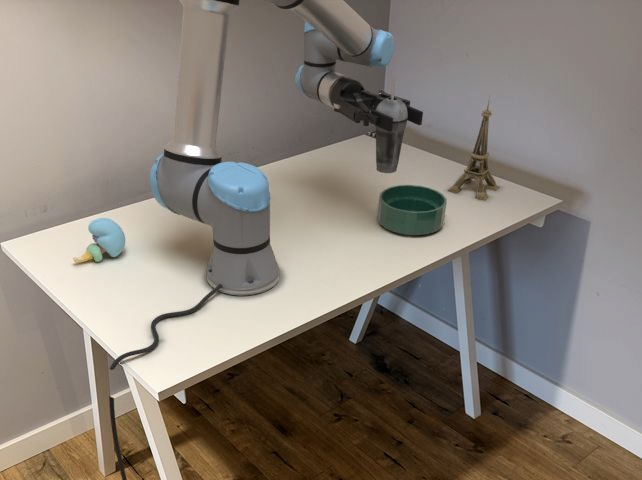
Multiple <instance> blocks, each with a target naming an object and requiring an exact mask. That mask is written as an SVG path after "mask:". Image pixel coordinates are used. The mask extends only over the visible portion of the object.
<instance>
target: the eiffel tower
mask: <svg viewBox="0 0 642 480" xmlns="http://www.w3.org/2000/svg"><path fill="white" fill-rule="evenodd" d="M490 98H491V95H489V99H488V100H487V101H488V102H487V105H486V109H484V110H482V113H481V114H480V116H482V120H481V122H480V123H481V124H480V128H479V131H478V133H477V134H478V135H477V137H476V142H475V145H474V148H473V150H472V152H470V154H469V156H470V159H469V161H468V164H467V165H466V167H465V169H463V173H462V175H461V176H460V177H459V178H457V180H456V181H455V183H453V185H452V186H451V187H450V188H448V189H447V192H449V193H454V194H458V193H460V192H461V191H462V186H463V185H464V184H467V185H469V184H470V183H472V182H473V180H475V181H476V182H477V193H476V195H475V197H474V199H477V200H481V201H486V200H487V199H489V198H490V195H488V192H487V190H491V191H495V192H496V191H497V190H498V189H500V186H499V185H498V184H497V182H496V180H495V178H494V176H493V175H492V173H491V172H490V169H491V168H490V167H489V164H488V157H490V152H489V151H488V141H489V140H488V138H489V123H490V117H491V116H492V115H493V114H492V112H493V111H492V110H489V105H490V100H491V99H490ZM477 162H479V165H477ZM484 181H485V183H486V186H485V184H484Z"/></svg>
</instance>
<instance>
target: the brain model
mask: <svg viewBox="0 0 642 480" xmlns="http://www.w3.org/2000/svg"><path fill="white" fill-rule="evenodd" d="M88 232H89V234H91V238H92V240H93V241H94V242H92V243H90V244H89V245H88V246H87V247H86V250H85V252H84V254H82V255H81V256H79V257H76V256H73V257H72V260H73V262H74V263H77V264H80V263H83V262H87V261H89V260H94V261H95V262H96V263H99V262H101V261H103V258H104V257H103V253H105V252H106V253H107V254H108V255H109V256H110V257H112V258H116V257H118V256H119V255H120V254H121V252H123V250H124V249H125V247H126V235H125V232H124V230H123V228H122V227H121V226H120V225H119V224H118V223H117V222H116V221H114V220H112V218H110V217H109V218H108V217H99V218H96V219H94V220H92V221H90V222H89V224H88Z"/></svg>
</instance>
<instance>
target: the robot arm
mask: <svg viewBox="0 0 642 480" xmlns="http://www.w3.org/2000/svg"><path fill="white" fill-rule="evenodd" d="M178 1H179V2H180V4H181V5H182V8H183V10H182V20H181V21H182V23H181V32H180V33H181V35H180V47H179V58H178V71H177V83H176V95H175V106H174V107H175V108H174V117H173V118H174V119H173V131H172V138H171V140H170V141H169V142H168V143H166V144H165V145H164V148H163V153H161V154H160V155H159V156H158V157H157V158H156V160H155V163H153V164H152V166H151V169H150V173H149V184H150V185H149V186H150V191H151V193H152V197H153V198H154V200H155V201H157V203H158V204H159V205H160V206H161V207H162V208H164V209H166V210H168V211H169V212H171V213H174V214H175V215H178V216H183V217H185V218H188V219H190V220H194V221H197V222H199V223H202V224H204V225H207V226H209V227H211V229H212V230H211V231H212V241H213V242H212V249H211V253H210V256H209V260H208V264H207V266H206V280H207V283H208V284H209V286H210V287H211V288H212V289H211V291H210V292H208V293H207V294H206V295H205V296H203V298H202V299H200V301H199V302H198V303H197V304H196V305H194V306H193V307H190V308H189V309H186V310H180V311H173V312H167V313H163V314H160V315H158V316H156V317H155V318H154V319H153V320H152V321H151V325H150V329H151V332H152V335H153V339H154V340H153V342H152V343H151V344H150V345H149V346H147V347H143V348H139V349H136V350H135V349H134V350H131V351H127V352H125V353H122V354H121V355H119V356H118V357H117V358H115V360H113V362H112V363H111V365H110V367H109V370H110V371H113V370H115V368H116V367H118V364H119V363H121V361H123V360H124V359H126V358H130V357H133V356H137V355H142V354H147V353H148V352H151V351H153V350H154V349H155V348H156V347H157V346H158V344H159V343H160V342H159V341H160V337H159V333H158V330H157V328H156V324H157V323H158V322H160V321H161V320H163V319H166V318H173V317H179V316H185V315H189V314H192V313H194V312H196V311H197V310H199V309H200V308H201V307H203V305H204V304H205V303H206V302H207V301H209V299H210V298H211V297H212V296H214V294H216V293H217V292H220V293H223V294H226V295H230V296H251V295H252V296H253V295H257V294H258V295H259V294H261V293H265V292H266V291H269V290H270V289H272V288H273V287H275V286H276V285H277V284H278V282H279V280H280V266H279V263H278V261H277V259H276V256H275V253H274V250H273V247H272V243H271V192H270V186H269V185H270V184H269V180H268V177H267V176H266V174H265V173H264V172H263V170H261V169H260V168H258V167H257V166H255V165H252V164H250V163H246V162H241V161H239V162H236V161H224V162H222V158H223V154H222V152H221V151H220V150H219V149H218V147H217V145H216V143H217V136H218V135H217V134H218V126H219V115H220V107H221V97H222V88H223V79H224V69H225V60H226V52H227V42H228V33H229V24H230V17H231V15H232V14H234V12H236V11H237V10H238V9H239V8H240V0H178ZM265 1H267V2H269V3H272V4H273V5H274V6H276V7H277V8H278V9H281V10H283V11H292V12H293V13H294V14H295V15H297V16H298V17H299V18H300V19H302V20H303V21H304V28H303V63H302V64H301V65H300V66H299V68H298V69H297V72H296V74H295V78H294V79H295V85H296V88H297V89H298V90H299V92H301V94H303V95H305V96H306V97H307V98H309V99H311V100H315V101H316V102H320V103H321V104H324V105H326V106H328V107H330V108H332V110H333V111H334V112H336V113H339V114H341V115H343V116H344V117H346V118H347V119H349V120H351V121H352V122H354V123H355V124H360V123H361V121H362V122H363V126H364V127H369V126H370V124H372V125H374V126H375V125H376V126H378V127H380V128H382V129H384V130H386V131H389V132H391V131H392V127H393V118H392V117H390V116H388V115H385V114H383V113H381V112H379V111H376V109H377V106H378V105H379V104H380V102H381V101H383V100H384V99H386V98H389V97H391V93H387V92H386V91H384V90H378V93H375V92H374V93H373V92H370V91H369V90H366V89H365V87H364V85H363V84H362V83H361V82H360V81H358V80H356V79H354V78H351V77H349V76H347V75H345V74H342V73H339V72H336V64H337V61H340V62H345V63H346V62H347V63H350V64H351V63H352V64H355V65H360V66H366V67H369V68H376V69H383V68H386V67H387V66H388V65H389V64H390V63H391V61H392V59H393V55H394V52H395V38H394V36H393V35H392V33H391V32H389V31H386V30H385V31H384V30H382V29H375V28H374V27H373V26H371V25H370V23H368V22H367V21H366V20H365V19H364V18H363V17H362V16H361V15H360V14H359V13H358V12H356V11H355V10H354V9H353V8H352V7H351V6H350V5H349V4H348V3H347V2H346V1H344V0H265ZM394 97H396V98H398V99H400V100H401V101H403V103H404V104H405V105H406V108H407V112H408V120H407V122H411V123H413V124H415V125H417V126H422V125H423V115H424V111H423V110H420V109H417V108H415V107H413V106H411V100H409V99H406V98H403V97H399V96H397V95H394ZM108 400H109V417H110V426H111V433H112V438H113V446H114V450H115V455H116V459H117V463H118V467H119V472H120V476H121V480H127V475H126V469H125V466H124V461H123V457H122V452H121V447H120V443H119V437H118V436H119V435H118V429H117V423H116V410H115V398H114V397H113V396H110V395H109V396H108Z"/></svg>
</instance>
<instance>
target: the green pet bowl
mask: <svg viewBox="0 0 642 480" xmlns="http://www.w3.org/2000/svg"><path fill="white" fill-rule="evenodd" d="M377 206H378V207H377V217H376V219H377V220H376V221H377V222H378V224H379V225H380V226H382V227H383V228H385V229H387V230H388V231H391V232H393V233H395V234H396V233H397V234H401V235H408V236H421V235H429V234H433V233H435V232H437V231H439V230H441V229H442V227H443V226H444V223H445V217H446V210H447V197H446V196H445V195H444V194H443V193H442V192H440V191H438V190H436V189H434V188H431V187H428V186H423V185H416V184H398V185H394V186H389V187H387V188H385V189H383V190H382V191H381V192H380V193H379V195H378V205H377Z"/></svg>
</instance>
